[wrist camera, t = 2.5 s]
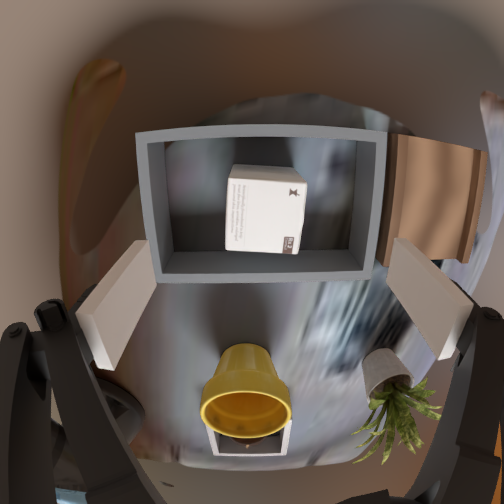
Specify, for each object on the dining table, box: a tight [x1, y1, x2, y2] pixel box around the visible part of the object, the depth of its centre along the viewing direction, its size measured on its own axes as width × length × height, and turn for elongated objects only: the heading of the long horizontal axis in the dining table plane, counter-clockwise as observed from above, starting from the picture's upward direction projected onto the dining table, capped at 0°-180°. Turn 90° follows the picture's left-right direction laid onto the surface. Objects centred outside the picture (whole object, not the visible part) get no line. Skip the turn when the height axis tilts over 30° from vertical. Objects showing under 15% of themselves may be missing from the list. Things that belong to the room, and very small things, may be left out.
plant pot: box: [200, 343, 292, 438], centre depth 34 cm, size 10×10×10 cm
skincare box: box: [225, 164, 307, 254], centre depth 26 cm, size 6×6×7 cm
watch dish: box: [206, 415, 292, 456], centre depth 43 cm, size 13×13×4 cm
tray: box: [375, 133, 488, 267], centre depth 28 cm, size 13×14×2 cm
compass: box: [230, 435, 267, 448], centre depth 41 cm, size 8×8×7 cm
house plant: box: [351, 348, 441, 464], centre depth 31 cm, size 14×14×16 cm
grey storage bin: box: [135, 124, 387, 283], centre depth 27 cm, size 21×14×5 cm, turn 91°
